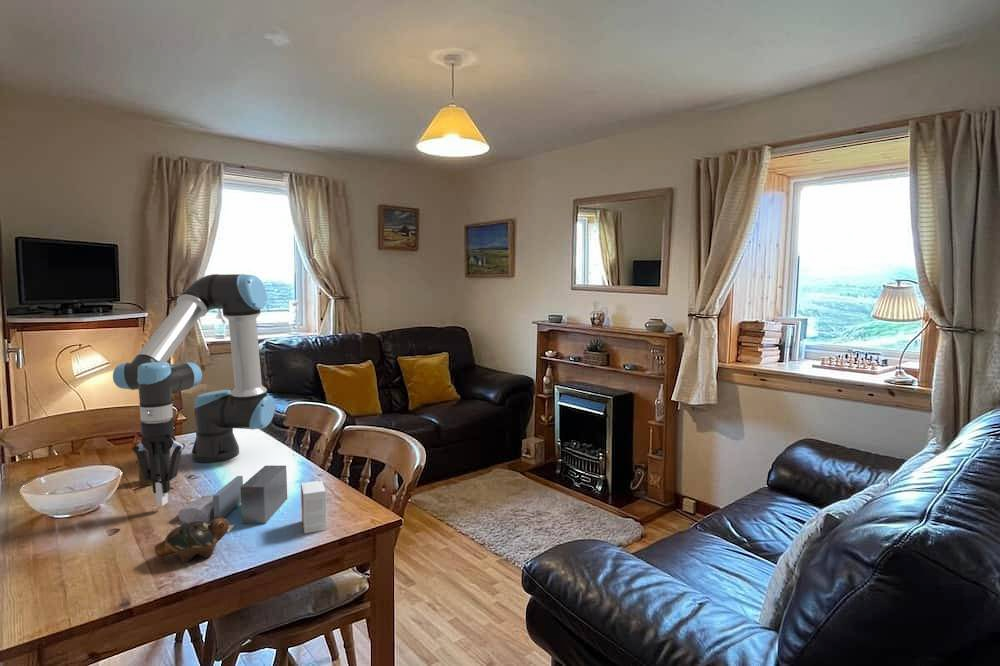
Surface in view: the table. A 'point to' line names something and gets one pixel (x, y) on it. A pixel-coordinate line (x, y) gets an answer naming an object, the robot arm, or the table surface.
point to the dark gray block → (263, 494)
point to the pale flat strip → (230, 528)
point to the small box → (313, 506)
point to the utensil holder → (141, 478)
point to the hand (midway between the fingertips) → (162, 503)
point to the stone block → (198, 510)
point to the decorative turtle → (193, 539)
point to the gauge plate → (227, 498)
